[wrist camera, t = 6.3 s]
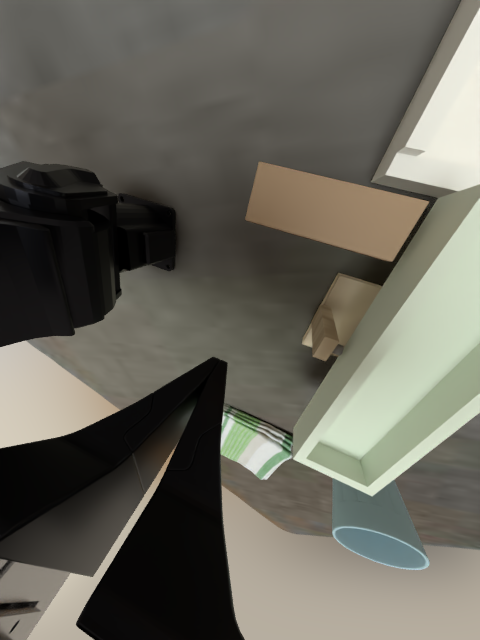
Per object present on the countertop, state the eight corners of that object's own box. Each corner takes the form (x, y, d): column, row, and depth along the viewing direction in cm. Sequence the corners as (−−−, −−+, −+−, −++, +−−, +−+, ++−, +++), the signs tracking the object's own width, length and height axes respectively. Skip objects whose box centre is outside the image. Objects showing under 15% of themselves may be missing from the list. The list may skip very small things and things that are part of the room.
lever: (206, 389, 20) (192, 411, 17) (264, 157, 11) (254, 130, 8) (360, 457, 17) (372, 496, 15) (587, 232, 9) (717, 227, 6)
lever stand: (299, 337, 21) (297, 381, 16) (335, 271, 17) (348, 299, 11) (396, 373, 19) (431, 435, 14) (463, 311, 15) (551, 365, 10)
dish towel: (266, 469, 40) (263, 489, 37) (173, 423, 43) (164, 438, 40) (299, 432, 30) (298, 455, 27) (177, 376, 33) (164, 392, 30)
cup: (314, 426, 27) (318, 523, 19) (370, 417, 23) (407, 535, 15) (340, 456, 29) (354, 558, 20) (396, 453, 25) (444, 578, 16)
